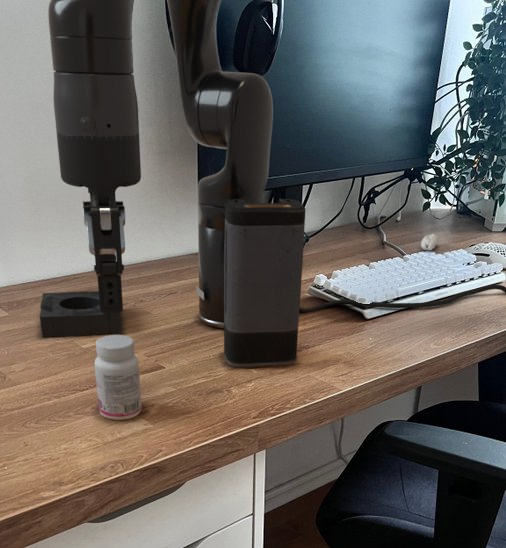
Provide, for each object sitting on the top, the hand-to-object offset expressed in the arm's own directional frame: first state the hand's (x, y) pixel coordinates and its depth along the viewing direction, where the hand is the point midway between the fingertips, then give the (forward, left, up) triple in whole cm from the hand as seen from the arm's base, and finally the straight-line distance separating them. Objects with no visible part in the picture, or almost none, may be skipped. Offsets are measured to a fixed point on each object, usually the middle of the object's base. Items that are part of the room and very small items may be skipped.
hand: (110, 299), depth 72 cm
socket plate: (+4, -30, -13) cm, 33 cm away
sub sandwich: (-69, -66, -13) cm, 97 cm away
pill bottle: (0, 0, -13) cm, 13 cm away
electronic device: (-19, -12, -13) cm, 26 cm away
